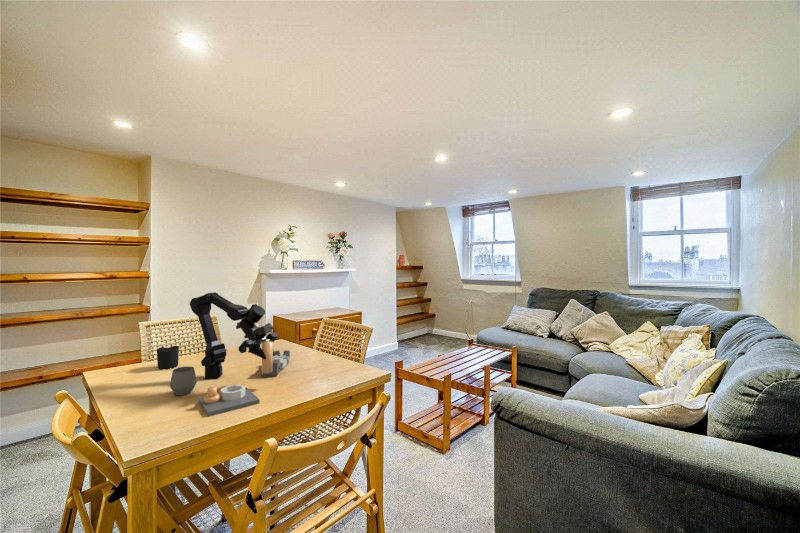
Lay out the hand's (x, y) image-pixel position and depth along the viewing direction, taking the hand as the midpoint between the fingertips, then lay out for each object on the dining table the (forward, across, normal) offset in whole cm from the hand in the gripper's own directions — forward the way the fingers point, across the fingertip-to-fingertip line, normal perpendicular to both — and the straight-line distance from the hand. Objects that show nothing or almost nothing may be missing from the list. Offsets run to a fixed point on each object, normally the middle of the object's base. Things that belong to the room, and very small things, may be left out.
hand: (269, 357), depth 149 cm
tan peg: (+4, 0, +6) cm, 7 cm away
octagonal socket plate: (+7, -18, +12) cm, 23 cm away
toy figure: (-2, +24, +23) cm, 33 cm away
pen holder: (-38, +1, +58) cm, 69 cm away
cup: (-10, -19, +30) cm, 37 cm away
